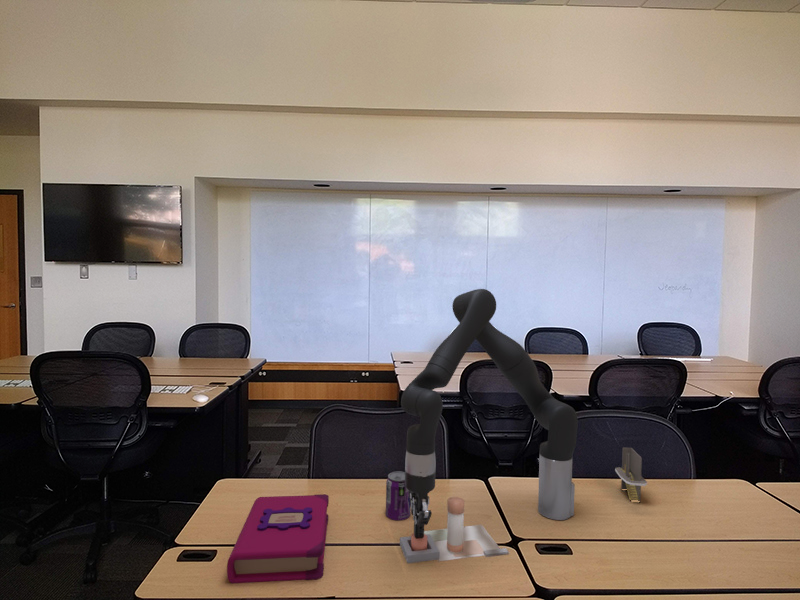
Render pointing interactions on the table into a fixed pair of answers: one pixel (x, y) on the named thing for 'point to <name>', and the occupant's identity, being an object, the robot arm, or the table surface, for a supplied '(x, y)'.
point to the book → (281, 540)
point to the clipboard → (467, 543)
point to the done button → (418, 543)
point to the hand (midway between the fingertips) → (418, 536)
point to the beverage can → (397, 497)
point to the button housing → (419, 555)
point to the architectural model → (631, 473)
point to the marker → (455, 525)
